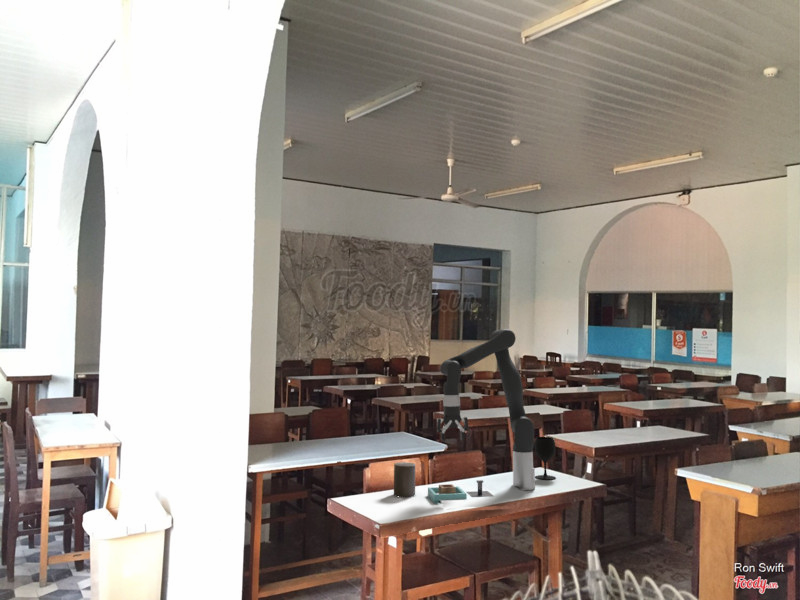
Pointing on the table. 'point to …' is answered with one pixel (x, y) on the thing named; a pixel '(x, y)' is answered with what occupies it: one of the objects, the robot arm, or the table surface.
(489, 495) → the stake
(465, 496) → the tray
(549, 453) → the wine glass
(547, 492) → the table surface
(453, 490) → the walnut collar
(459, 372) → the robot arm
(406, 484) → the pillar candle
